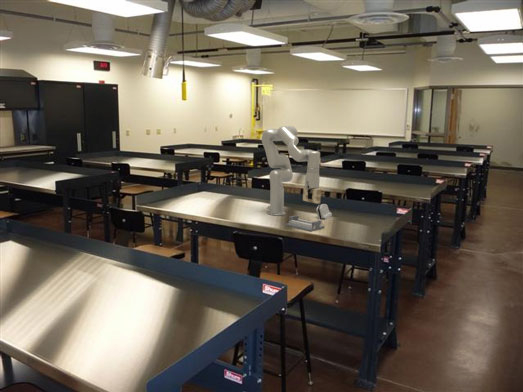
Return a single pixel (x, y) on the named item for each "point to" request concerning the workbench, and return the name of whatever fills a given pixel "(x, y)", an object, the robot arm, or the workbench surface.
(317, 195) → the door panel
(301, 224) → the track board
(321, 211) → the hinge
